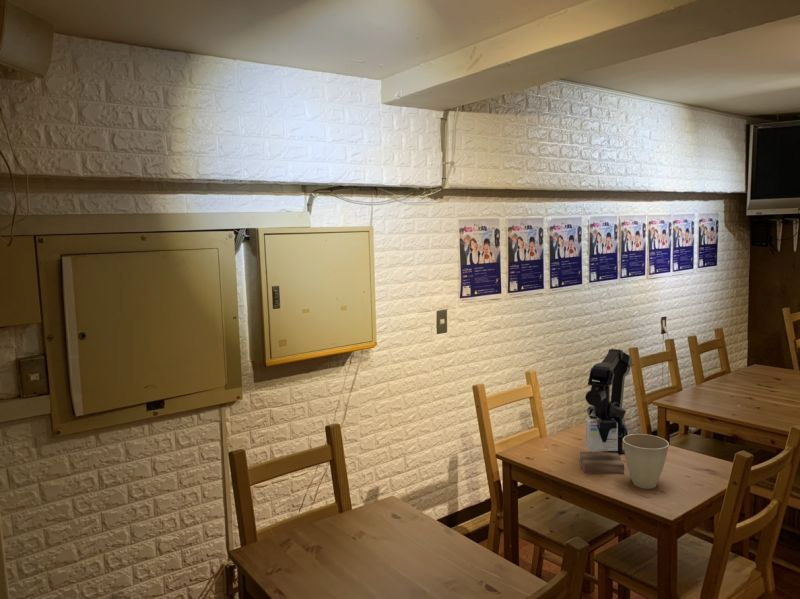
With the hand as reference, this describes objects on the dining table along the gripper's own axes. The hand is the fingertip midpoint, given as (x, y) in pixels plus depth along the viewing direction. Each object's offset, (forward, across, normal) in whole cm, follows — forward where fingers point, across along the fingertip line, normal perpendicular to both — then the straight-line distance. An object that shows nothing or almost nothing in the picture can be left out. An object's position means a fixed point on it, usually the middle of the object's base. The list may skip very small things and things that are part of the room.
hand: (601, 439), depth 228 cm
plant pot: (+11, -16, -11) cm, 22 cm away
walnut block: (+12, 0, 0) cm, 12 cm away
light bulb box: (+4, 0, 0) cm, 4 cm away
